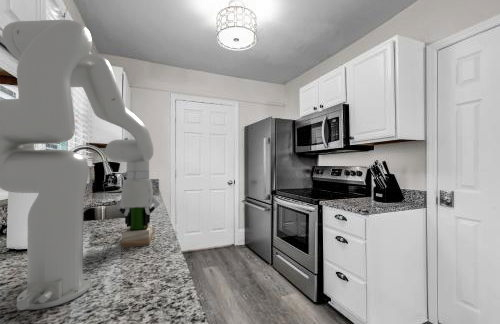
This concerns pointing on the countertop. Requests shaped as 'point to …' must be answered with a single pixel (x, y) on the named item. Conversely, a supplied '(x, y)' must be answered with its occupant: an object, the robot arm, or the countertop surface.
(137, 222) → the beer can
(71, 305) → the countertop surface
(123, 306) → the countertop surface
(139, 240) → the wooden box with panel
